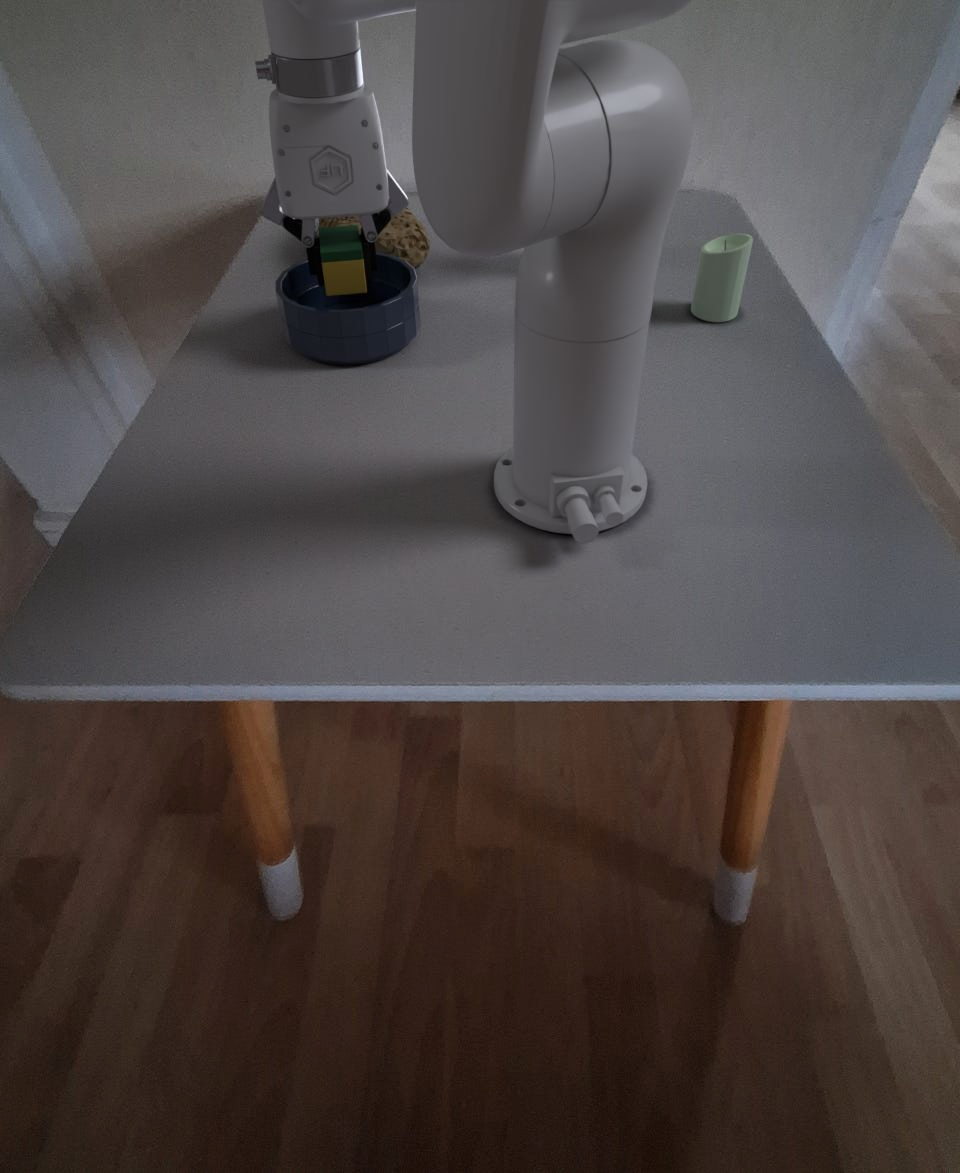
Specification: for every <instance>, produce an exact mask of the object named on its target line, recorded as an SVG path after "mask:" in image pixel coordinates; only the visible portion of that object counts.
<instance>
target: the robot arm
mask: <svg viewBox="0 0 960 1173" xmlns="http://www.w3.org/2000/svg"><path fill="white" fill-rule="evenodd" d="M692 1H693V0H262V6H263V11H264V17H265V24H266V31H267V37H268V43H269V49H270V54H268V55H267V58H263V60H255V62H254V63H255V71H256V76H257V77H256V78H257V80H266V81H267V82H269V81H270V82H271V84H272V85H275V89H273V90H272V91H270V94H269V100H268V121H269V124H268V125H269V136H270V145H271V146H270V147H271V155H272V162H273V171H274V178H273V180H272V182H271V183H270V187H269V188H268V191H267V193H266V196H265V198H264V200H263V202H262V205H261V216H262V217H263V218H264V219H266V220H268V221H270V222H272V223H274V224H276V225H278V226H281V227H282V228H284V230H286V231H287V232H288V233H289V234H290V235H292V236H293V237H294V238H296V240H298V241H299V242H301V244H302V246H303V247H304V248H305V251H306V259H308V265H309V271H310V275H317V278H318V285H319V287H321V286H324V285H325V282H324V275H323V268H322V261H321V254H320V244H319V236H318V233H317V231H316V220H317V219H319V218H330V217H343V216H356V215H359V218H360V222H361V225H362V228H361V234H360V239H361V245H362V251H363V261H364V270H365V279H366V281H367V283H368V282H372V276H371V270H377V259H376V248H375V241H376V240H377V238H378V235H379V234H380V232H381V231H382V230H383V229H384V228H385V226H386V225H387V224H388V223H389V222H390V220H391V218H393V217H394V216H396V215H397V214H399V213H400V212H401V211H402V210H404V209H405V208H406V207H407V208H408V206H409V204H410V202H409V198H408V196H407V194H406V193H405V191H404V189H402V187H401V186H400V184H399V183H398V182H397V181H396V179H395V177H394V176H393V175H392V174H391V172H390V171H389V170H388V168H387V159H386V153H385V145H384V137H383V131H382V125H381V119H380V118H381V117H380V114H379V110H378V105H377V101H376V98H375V94H374V91H373V89H372V87H371V86H370V85H368V84H366V83H364V74H363V65H362V64H363V63H362V52H361V51H362V50H361V42H360V30H359V22H363V21H368V20H372V19H375V18H381V17H386V16H391V15H397V14H402V13H409V12H415V25H414V51H413V52H414V56H413V82H412V84H413V86H412V87H413V88H412V114H411V116H412V118H411V147H412V148H411V150H412V151H411V152H412V164H413V175H414V181H415V188H416V190H417V195H418V198H419V201H420V205H421V207H422V210H423V213H424V215H425V217H426V219H427V222H428V223H429V225H430V227H431V228H432V230H433V231H434V233H435V234H436V235H437V236H438V238H439V239H440V240H441V241H443V243H444V244H445V245H447V246H448V247H450V248H451V249H452V250H455V251H456V252H458V253H461V254H464V255H467V256H472V257H493V256H500V255H503V254H507V253H511V252H515V251H517V250H520V249H522V253H521V255H520V260H519V264H518V267H517V273H516V280H515V293H514V325H513V326H514V331H513V333H514V334H513V335H514V336H513V340H514V341H513V404H512V406H513V407H512V408H513V409H512V413H513V414H512V447H511V448H509V449H508V450H507V451H505V453H504V454H502V455H501V457H500V458H499V460H497V462H496V465H495V468H494V471H493V488H494V494H495V496H496V499H497V500H498V503H499V504H500V505H501V506H502V507H503V509H504V510H505V511H506V512H507V513H509V514H510V515H511V516H512V517H513V518H514V519H517V520H519V521H521V522H522V523H524V524H526V525H528V526H530V527H533V528H536V529H538V530H543V531H547V532H551V533H555V534H556V533H557V534H566V535H567V534H568V535H572V538H573V539H574V541H575V542H577V543H579V544H589V543H592V542H593V541H595V539H597V538H598V535H599V533H600V532H602V531H606V530H608V529H612V528H615V527H617V526H620V525H621V524H622V523H625V522H626V521H628V520H629V519H630V518H631V517H633V516H634V515H636V514H637V512H639V509H640V508H641V507H642V506H643V504H644V501H645V499H646V496H647V489H648V475H647V472H646V469H645V467H644V465H643V464H642V462H641V461H640V460H639V458H637V457H636V456H635V455H634V454H633V449H634V441H635V436H636V435H635V433H636V426H637V420H638V419H637V418H638V411H639V405H640V404H639V403H640V396H641V390H642V383H643V382H642V380H643V374H644V367H645V360H646V351H647V345H648V338H649V336H648V335H649V329H650V323H651V317H652V310H653V304H654V296H655V289H656V283H657V276H658V272H659V271H658V269H659V264H660V259H661V254H662V250H663V246H664V245H663V244H664V242H665V241H664V240H665V236H666V233H667V229H668V225H669V222H670V219H671V215H672V212H673V210H674V206H675V204H676V201H677V198H678V194H679V191H680V188H681V185H682V182H683V178H684V175H685V172H686V168H687V164H688V160H689V156H690V151H691V145H692V136H693V109H692V102H691V98H690V94H689V90H688V87H687V84H686V82H685V79H684V78H683V75H682V74H681V72H680V71H679V69H678V67H677V66H676V65H675V63H674V62H673V61H672V60H671V59H670V58H669V57H668V56H667V55H666V54H665V53H664V52H662V51H661V50H659V49H658V48H656V47H654V46H652V45H650V44H648V43H644V42H640V41H638V40H634V39H625V38H608V39H607V38H606V39H599V40H592V41H588V42H583V43H577V44H573V45H569V46H566V47H561V46H562V45H565V44H566V45H567V44H570V43H574V42H577V41H583V40H587V39H592V38H597V37H600V36H601V37H602V36H606V35H610V34H615V33H619V32H623V31H627V30H631V29H636V28H639V27H643V26H646V25H650V24H653V23H656V22H659V21H662V20H664V19H668V18H669V17H671V16H674V15H676V14H677V13H678V12H680V11H682V10H683V9H685V8H686V7H687V6H688V5H690V3H691V2H692ZM389 197H390V198H389Z"/></svg>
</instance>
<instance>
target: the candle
mask: <svg viewBox="0 0 960 1173" xmlns="http://www.w3.org/2000/svg"><path fill="white" fill-rule="evenodd" d="M753 241H754V237H753V236H752V235H751V234H748V233H731V234H727V235H726V234H725V235H722V236H718V237H716V238H713V239H711V240H709V241H707V242H706V243H704V244H703V245H702V247H701V248H700V251H699V257H698V263H697V270H696V275H695V282H694V287H693V294H692V300H691V306H690V312H691V314H692V315H693V316H694V317H696V318H698V319H699V320H702V321H704V322H708V323H709V322H710V323H724V322H725V323H727V322H729V321H731V320H734V319H735V318H736V317H738V314H739V309H740V304H741V299H742V295H743V289H744V285H745V281H746V276H747V270H748V266H749V261H750V257H751V252H752V247H753Z"/></svg>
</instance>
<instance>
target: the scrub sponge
mask: <svg viewBox="0 0 960 1173" xmlns="http://www.w3.org/2000/svg"><path fill="white" fill-rule="evenodd" d="M317 231H318V233H317V234H318V237H319V244H320V254H321V261H322V268H323V275H324V282H325V289H326V295H327V296H334V295H346V294H357V293H367V288H366V279H365V270H364V261H363V251H362V245H361V239H360V234H359V228H358V225H349V226H336V227H323V228H319V227H318V228H317Z"/></svg>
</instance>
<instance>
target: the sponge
mask: <svg viewBox="0 0 960 1173" xmlns="http://www.w3.org/2000/svg"><path fill="white" fill-rule="evenodd" d="M389 198H390V197H389ZM349 225H358V228H359V234H361V228H362V225H361V222H360V218H359V215H356V216H343V217H330V218H318V228H323V227H336V226H349ZM375 248H376V252H380V253H385V254H390V255H393V256H395V257H398V258H400V259H402V260H405V261H406V262H407V263H408V264H410V265H411V266H412V267H413V268H414V269H415V270H416V269H417V268H419V267H420V266H421V265H422V264H424V262H425V261H426V258H427V257H428V255H429V251H430V248H431V241H430V238H429V236H428V233H427V230H426V227H425V226H424V225H423V223H422V222H421V221H420V220H419V219H418V218H417V217H416V215H414V213H413V211H412V210H411V209H409V207H408V206H407V207H406V208H405V209H404V210H402V211H401V212H400V213H399V214H397V215H396V216H394V217H393V218H391V220H390V222H389V223H388V224H387V225H386V226H385V228H384V229H383V230H382V231H381V232H380V234H379V235H378V238H377V240H376V241H375Z"/></svg>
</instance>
